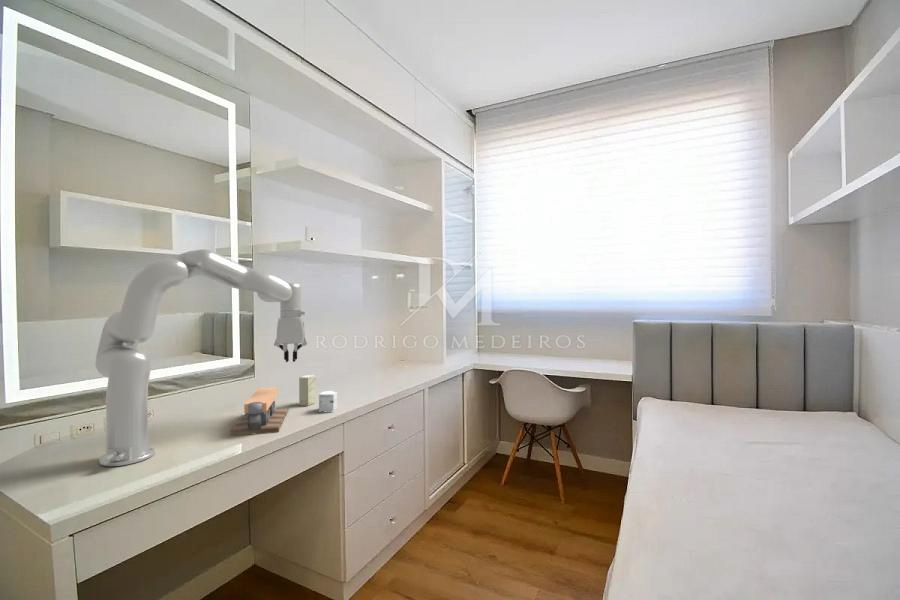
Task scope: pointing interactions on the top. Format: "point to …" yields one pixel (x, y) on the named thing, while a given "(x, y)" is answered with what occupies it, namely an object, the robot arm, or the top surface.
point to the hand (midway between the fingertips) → (290, 361)
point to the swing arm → (260, 400)
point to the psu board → (268, 428)
